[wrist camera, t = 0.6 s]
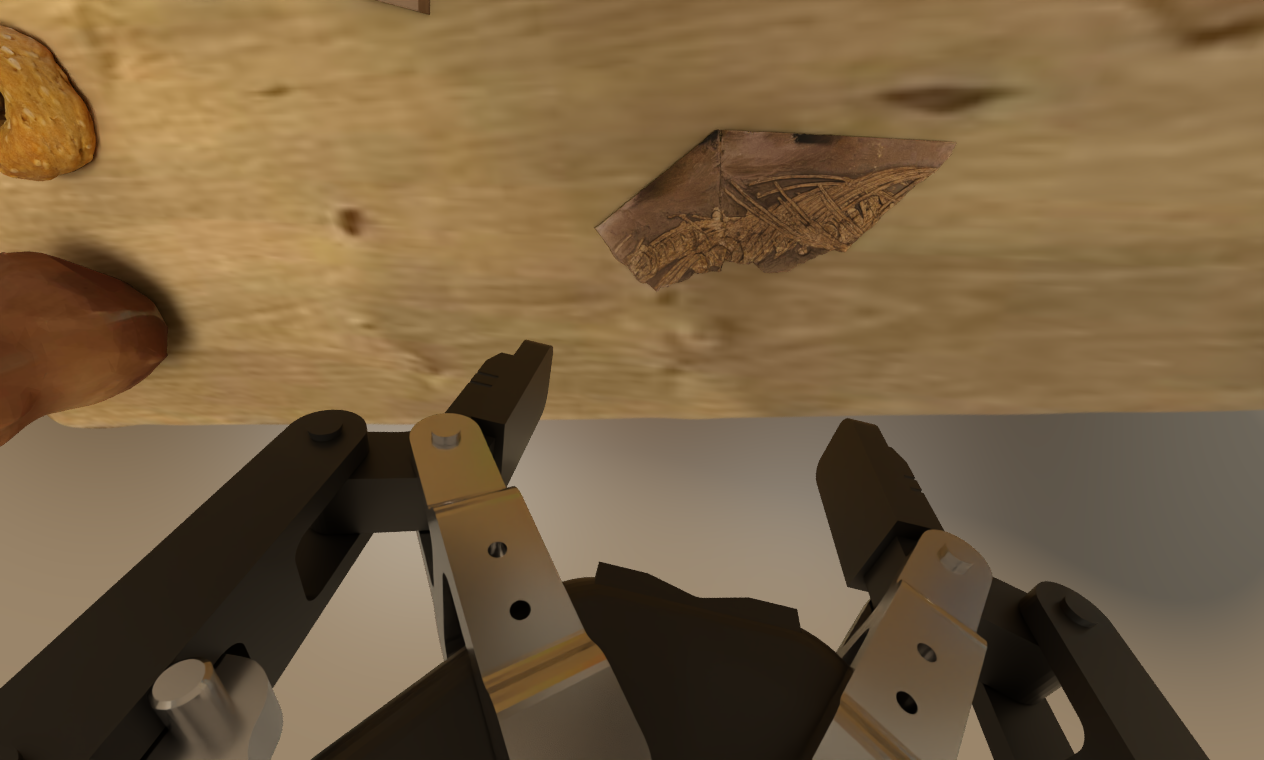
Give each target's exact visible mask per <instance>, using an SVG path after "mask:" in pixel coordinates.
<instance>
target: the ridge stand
mask: <svg viewBox="0 0 1264 760" xmlns="http://www.w3.org/2000/svg"><path fill="white" fill-rule="evenodd" d="M377 1H381V2H384V3H388V4H392V5H396V6H399V7H403V8H407V9H411V10H414V11H418V12H422V13H426V14H429V15H430V0H377Z"/></svg>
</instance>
